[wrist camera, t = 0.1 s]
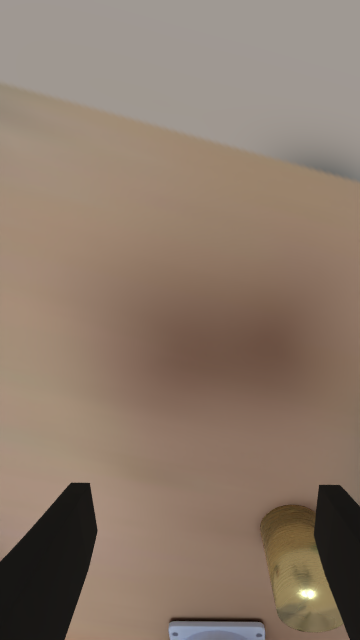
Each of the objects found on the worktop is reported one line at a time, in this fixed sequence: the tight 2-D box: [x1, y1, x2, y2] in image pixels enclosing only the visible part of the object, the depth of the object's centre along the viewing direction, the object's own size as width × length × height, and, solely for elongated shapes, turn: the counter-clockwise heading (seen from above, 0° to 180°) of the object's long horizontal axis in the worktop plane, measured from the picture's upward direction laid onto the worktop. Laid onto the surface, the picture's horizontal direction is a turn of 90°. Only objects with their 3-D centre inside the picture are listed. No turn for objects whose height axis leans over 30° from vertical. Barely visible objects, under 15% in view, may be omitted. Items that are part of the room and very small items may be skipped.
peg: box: [260, 505, 344, 632], centre depth 21 cm, size 4×4×5 cm
